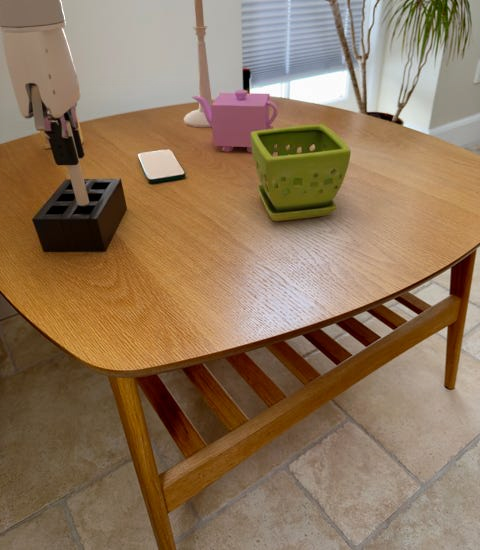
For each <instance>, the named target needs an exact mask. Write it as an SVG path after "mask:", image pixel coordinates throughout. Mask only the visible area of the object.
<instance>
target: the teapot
mask: <svg viewBox="0 0 480 550" xmlns="http://www.w3.org/2000/svg"><path fill="white" fill-rule="evenodd" d="M191 98H192V99H194V100H196V101H197V102H198V104H199V103H200V104H201V106H202V108H203V111H204V114H205V117H206V119H207V121H208V123H209V124H210V125H211V126H212V127H211V131H212V132H211V133H212V145H213V147H222V149H221V151H223V152H225V153H226V152H227V153H228V152H232V151H233V149H234V147H237V148H238V147H239V148H246V150H247V152H248V153H252V146H251V132H254V131H260V130H268V129H275V128H274V126H272V124H273V122H274V121H275V119H276V118H277V117H278V115H279V108H278V105H277V104H276V103H275V102H273V101H272V100H271V99H270V98H271V95H270V93H248V90H246V89H237V90H235V91H234V92H220V93H219V94H218V96H217V97H216V98H215V99H214V100H213V101H212V105H211V109H210V107H209V105H208V103H207V101H206V100H205V99H204V98H203V97H199V96H198V95H197V96H195V95H194V96H191ZM270 107H271V108H272V109H273V113H272V116H271V117H270Z"/></svg>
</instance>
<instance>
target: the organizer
mask: <svg viewBox="0 0 480 550" xmlns="http://www.w3.org/2000/svg"><path fill="white" fill-rule="evenodd" d="M84 183H85V187H86V191H87V195H88V199H89V203H88V204H87V206H85V207H81V206H80V205H78V204H77V201H76V197H75V194H74V190H73V186H72V182H71V178H65V179H64V180H63V181H62V182H61V184H59V186H58V187H57V189H55V191H53V193H52V195H51V196H50V197H49V198H48V199H47V200H46V202H45V203H44V204H43V205H42V206H41V208H40V209H39V210H38V211H37V212H36V213H35V215H34V216H33V217H32V219H31V221H32V223H33V227H34V229H35V232H36V234H37V238H38V241H39V244H40V247H41V249H42V251H43V252H44V253H52V252H53V253H71V252H72V253H73V252H74V253H75V252H76V253H78V252H81V253H83V252H87V253H88V252H89V253H91V252H100V253H101V252H106V251H107V249H108V247H109V245H110V243H111V242H112V239H113V237H114V235H115V234H116V231H117V230H118V228H119V225H120V224H121V221H122V220H123V218H124V216H125V213H126V211H127V210H128V206H127V201H126V196H125V192H124V191H125V190H124V187H123V182H122V178H84Z"/></svg>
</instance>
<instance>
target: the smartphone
mask: <svg viewBox="0 0 480 550" xmlns="http://www.w3.org/2000/svg"><path fill="white" fill-rule="evenodd" d="M137 157H138V161H139V163H140V165H141V168H142V170H143V172H144V175H145V177H146V179H147V182H148V183H151V184H152V183H160V182H166V181H172V180H179V179H183V178H186V172H185V170H184V168H183V166H182V165H181V164H180V161H179V160H178V159H177V157H176V155H175V153H174V152H173V150H172V149H168V148H167V149H159V150H153V151H146V152H140V153H138V154H137Z"/></svg>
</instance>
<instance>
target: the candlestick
mask: <svg viewBox="0 0 480 550" xmlns="http://www.w3.org/2000/svg"><path fill="white" fill-rule="evenodd" d="M193 5H194V16H195V17H194V19H195V25H194V26H193V27H192V28H193V29H194V31H195V33H194V34H195V36H196V38H197V44H196V45H197V70H198V72H197V73H198V97H203V98H204V99H205V100H206V101H207V103H208V105H209V107H210V109H211V105H212V103H213V99H212V92H211V83H210V74H209V65H208V57H207V47H206V44H207V43H206V41H205V36H206V34H207V33H206V29H207V28H208V26H207V25H205V20H204V19H205V18H204V4H203V0H193ZM198 104H199V106H198V108H197V109H194V110H192V111H190V112H188V113H186V114H185V116H184V117H183V123H184V124H185V125H187V126H189V127H194V128H212V126H211V125H210V124H209V123H208V121H207V119H206V117H205V114H204V111H203V108H202V106H201V104H200V103H199V102H198Z"/></svg>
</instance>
